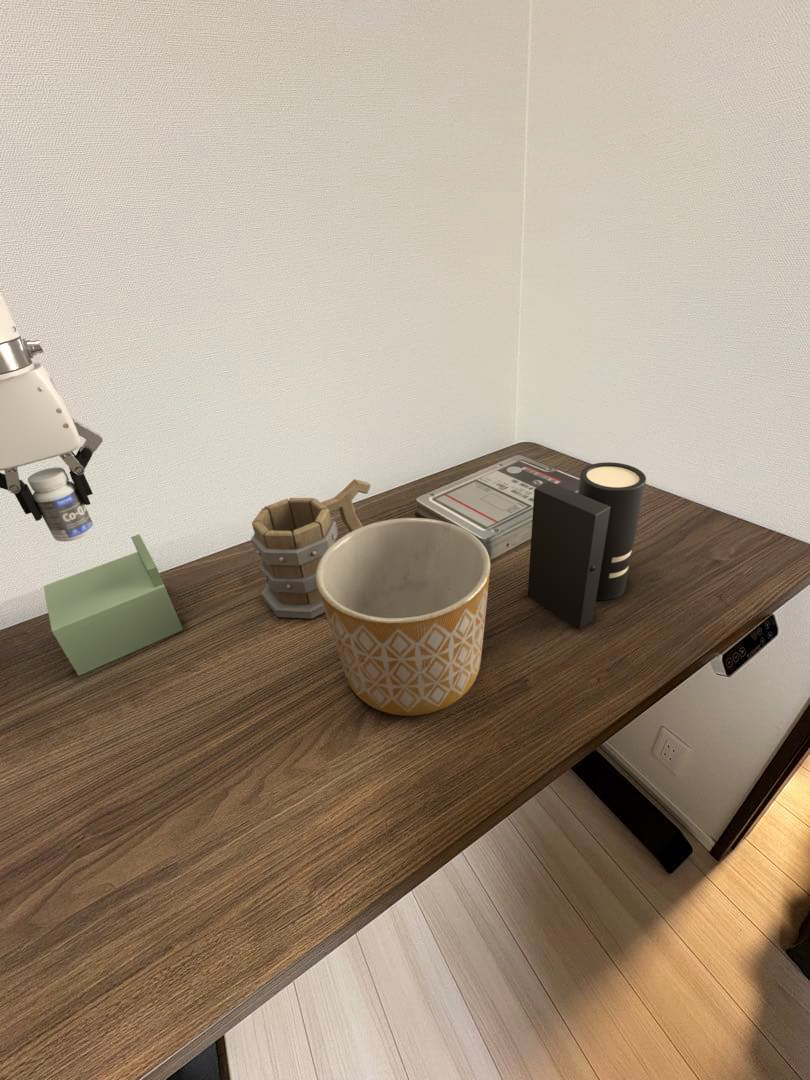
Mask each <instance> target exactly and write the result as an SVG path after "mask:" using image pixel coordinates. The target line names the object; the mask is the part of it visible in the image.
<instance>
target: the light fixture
mask: <svg viewBox="0 0 810 1080" xmlns="http://www.w3.org/2000/svg"><path fill="white" fill-rule="evenodd" d="M579 473H580V474H579V478H580V481H579V490H578V493H576V492H574V491H571V490H569V489H566V488H564V487H562V486H559V485H557V484H554V483H552V482H547V483H545V484H543V485H541V486H539V487H537V488H535V489H534V503H533V518H532V534H531V538H530V548H529V549H530V551H529V566H528V581H527V595H526V596H527V598H529V599H531V600H532V601H534V602H535V603H537V604H538V605H540V606H541V607H543V608H545V609H546V610H548V611H549V612H551V613H553V614H555V615H556V616H558V617H559V618H560V619H562V620H564V621H565V622H567V623H568V624H570V625H572V626H574V627H575V628H576V629H578V630H581V629H582V628H584V627H585V626H586V625H587V624H589V623H590V622H592V621H593V620H594V615H595V609H596V602H597V601H610V600H614V599H616V598H619V597H621V596H622V595H623V593H624V592H625V590H626V588H627V587H626V586H627V581H628V577H629V572H630V564H631V561H632V556H633V555H632V554H633V548H634V545H635V540H636V535H637V531H638V524H639V519H640V513H641V509H642V504H643V498H644V493H645V489H646V484H647V476H646V474H645V473H644V472H643V471H642V470H640V469H639V468H637V467H635V466H632V465H629V464H625V463H620V462H611V461H610V462H608V461H606V462H604V461H603V462H597V463H593V464H592V463H591V464H589V465H587V466H585V467H584V468H583V469H582V470H581V471H580V472H579Z"/></svg>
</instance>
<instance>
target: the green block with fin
mask: <svg viewBox="0 0 810 1080" xmlns="http://www.w3.org/2000/svg"><path fill="white" fill-rule="evenodd" d="M130 538H131V540H132V543H133V545H134V548H135V549H136V552H133V553H130V554H128V555H125V556H122V557H119V558H116V559H114V560H111V561H108V562H106V563H103V564H100V565H97V566H95V567H92V568H89V569H87V570H83V571H81V572H78V573H75V574H73V575H70V576H67V577H64V578H62V579H58V580H56V581H54V582H50V583H48V584H45V585H43V593H44V597H45V602H46V609H47V614H48V617H49V618H48V619H49V624H50V629H51V633H52V634H53V636H54V638H55V640H56V641H57V643H58V644H59V646H60V648H61V649H62V651H63V652H64V655H65V656H66V658H67V659H68V661H69V663H70V664H71V666H72V668H73V670H74V671H75V673H76V674H77V676H78V677H80V676H82V675H84V674H86V673H89V672H91V671H94V670H96V669H98V668H100V667H102V666H105V665H107V664H110V663H112V662H114V661H116V660H119V659H120V658H122V657H125V656H127V655H129V654H132V653H134V652H136V651H138V650H141V649H143V648H145V647H147V646H150V645H152V644H154V643H157V642H159V641H161V640H163V639H166V638H168V637H170V636H173V635H175V634H177V633H179V632H182V631H183V630H184V628H183V626H182V624H181V621H180V619H179V617H178V614H177V612H176V609H175V607H174V604H173V602H172V600H171V597H170V595H169V593H168V590H167V588H166V585H165V584H164V581H163V578H162V577H161V574H160V572H159V569H158V566H157V565H156V563H155V561H154V558H153V557H152V556H151V554H150V552H149V550H148V548H147V546H146V544H145V542H144V540H143V538H142V537H141V534H135V535H133V536H131V537H130Z"/></svg>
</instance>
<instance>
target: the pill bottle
mask: <svg viewBox="0 0 810 1080" xmlns="http://www.w3.org/2000/svg"><path fill="white" fill-rule="evenodd" d="M27 482H28V484H29V486H30V488H31V491H33V493H32V494H33V499H34V501H35V503H36V505H37V507H38V509H39V511H40V513H41V515H42V519H43V520H44V523H45V524H46V526H47V528H48V530H49V531H50V533H51V536H52V537H53V539H54V540H55V541H57V542H72V541H76V540H79V539H81V538H83V537H86V536H87V535H88V534H89V533H90V532H92V531H93V529H94V522H93V520H92V518H91V516H90V513H89V512H88V510H87V507H86V505H84V504H83V501H82V499H81V497H80V495H79V493H78V491H77V489H76V487H75V485H74V483H73V481H70V478H69V476H68V474H67V472H66V470H65V469H64V468H63V467H60V466H59V467H58V466H57V467H56V466H55V467H49V468H45V469H42V470H38V471H37V472H34V473H31V475H30V476H28V478H27Z"/></svg>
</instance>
